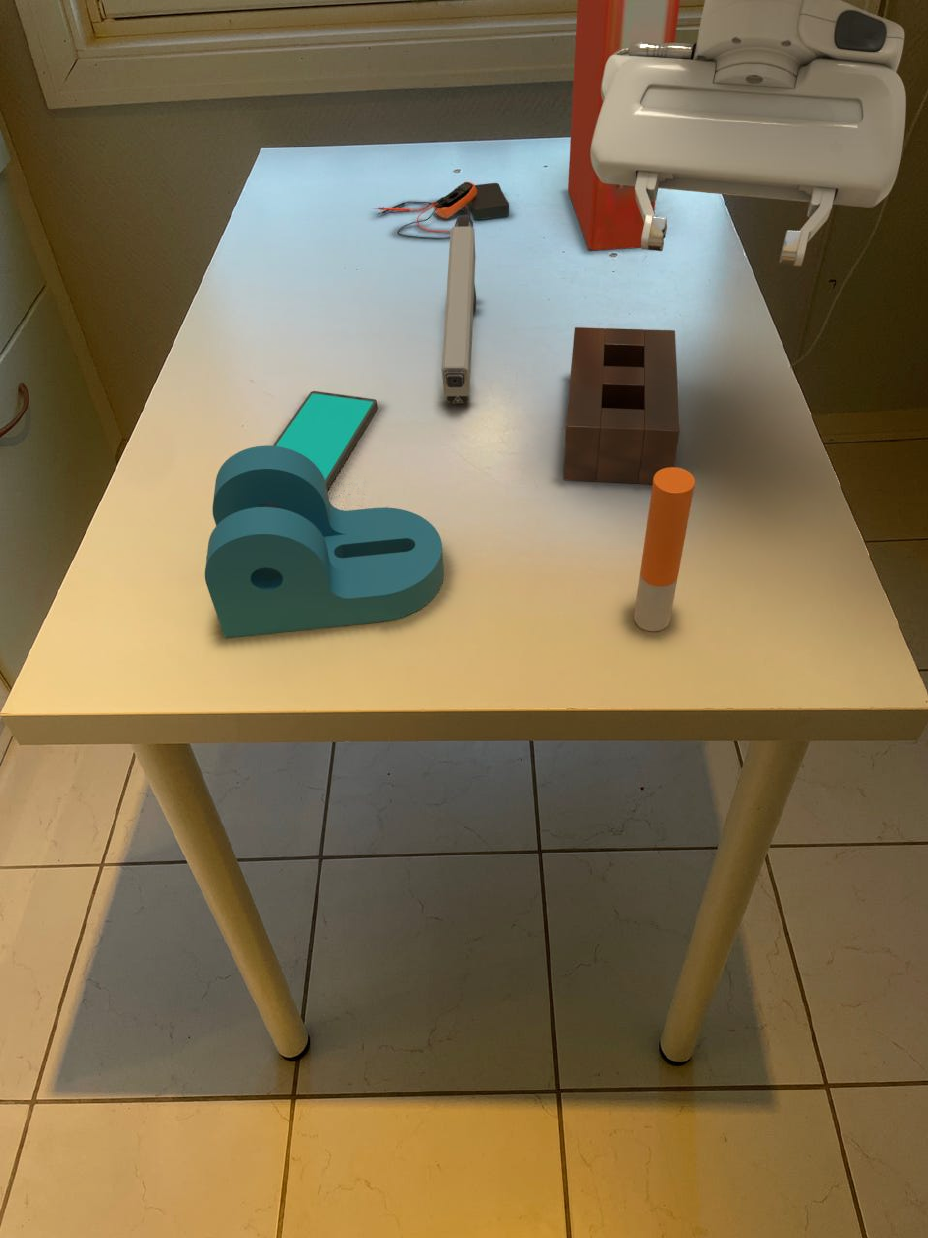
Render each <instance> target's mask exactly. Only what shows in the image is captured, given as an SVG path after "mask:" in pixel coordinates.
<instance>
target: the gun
mask: <svg viewBox="0 0 928 1238" xmlns="http://www.w3.org/2000/svg"><path fill="white" fill-rule="evenodd" d="M450 231H451V232H449V233H450V234H449V237H450V238H449V249H448V250H449V252H448V265H447V266H448V267H447V281H446V295H445V309H444V310H445V312H444V327H443V330H444V331H443V341H442V342H443V343H442V359H441V376H442V377H441V378H442V388H443V389H442V390H443V396H444V397H446V398H445V399H446V402H447V403H449V404H452V405H453V404H467V403H468V402H469V401H470V393H471V392H470V391H471V390H470V389H471V370H472V369H471V368H472V345H473V342H472V341H473V323H474V322H473V321H474V312H475V311H477V292H476V284H475V281H476V280H475V279H476V278H475V276H476V241H475V240H476V238H475V228H474V221H473V220H472V217H471V215H470V216H469V215H468V214H459V215H458V216H457V218H456V221H455V223H454V226H453V227H452V228H451V229H450Z"/></svg>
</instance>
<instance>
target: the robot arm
mask: <svg viewBox="0 0 928 1238" xmlns="http://www.w3.org/2000/svg"><path fill="white" fill-rule="evenodd" d="M904 43H905V30H904V28H903V26H902V25H900V24H898V23H897V22H895V21H892V20H889V19H888V18H885V17H883V16H879V15H877V14H874V13H871V12H869V11H866V10H864V9H862V8H859V7H857V6H855V5H853V4H850V3H848V2H846V1H844V0H704V3H703V8H702V13H701V18H700V23H699V28H698V33H697V38H696V42H695V43H684V42H675V43H665V44H664V43H662V44H656V43H650V42H647V41H635V42H631V43H630V47H625V48H622V49H620V50H618V51H616V52H615V53H614V54H613V55H612V56H610V57H609V59H608V61H607V63H606V65H605V68H604V73H603V78H602V84H601V96H602V99H603V101H604V102H603V105H602V108H601V111H600V114H599V117H598V120H597V124H596V127H595V131H594V135H593V139H592V144H591V162H592V166H593V169H594V171H595V172H596V174H597V176H598V177H599V179H600V180H601V181H602V182H603V183H608V184H619V185H630V186H635V194H636V201H637V204H638V207H639V210H640V213H641V215H642V218H643V221H644V227H643V232H642V237H641V247H640V248H641V250H646V251H657V252H663V250H664V246H665V240H664V239H665V238H666V236H667V230H668V224H667V223H668V219H667V217H661V216H656V214H655V210H654V211H653V208H652V205H651V203H650V202H655V201H657V197H658V194H659V193H658V192H659V189H662V190H674V191H683V192H685V191H686V192H695V193H706V194H716V195H728V196H737V197H738V196H739V197H749V198H760V199H771V200H780V201H792V202H801V203H809V204H808V208H807V214H806V215H807V218H809V219H807V221H806V222H805V223H804V225H802V227H801V228H800V229H799V230H790V229H789V230H788V229H787V230H786V232H785V236H784V239H783V243H782V249H781V253H780V259H779V265H787V266H794V267H802V265H803V262H804V258H805V254H806V250H807V244H808V242H810V241H811V239H812V238H813V237H814V236H815V234H817V233H818V232H819V230H820V229H821V227H823V226H824V224H825V223H826V222H827V221H828V219H829V217H830V214H831V211H832V208H833V205H836V206H845V207H855V208H868V209H870V208H874V207H876V206H877V205H878V204H880V203H881V202H882V201H883V200H884V199H885V198H886V197H888V195H889V194H890V192H891V191H892V190H893V187H894V185H895V183H896V180H897V177H898V173H899V169H900V163H901V159H902V151H903V147H904V146H903V145H904V136H905V127H906V112H907V111H906V108H907V106H906V105H907V100H906V99H907V96H906V89H905V85H904V82H903V81H902V78H901V77H900V75H899V74H898V73H897V72H898V69H899V65H900V62H901V59H902V54H903V49H904ZM624 54H629V56H625V55H624ZM655 203H656V202H655Z"/></svg>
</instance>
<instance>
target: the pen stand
mask: <svg viewBox="0 0 928 1238" xmlns="http://www.w3.org/2000/svg"><path fill="white" fill-rule="evenodd" d="M573 332H574V333H573V343H572V354H571V368H570V378H569V387H568V399H567V400H568V401H567V409H566V410H567V411H566V422H565V436H564V437H565V439H564V459H563V475H562V476H563V477H562V478H563V479H562V480H563V481H578V482H579V481H580V482H601V483H602V482H603V483H619V484H620V483H621V484H641V485H653V478H654V475H655V474H656V473H657V472H658V471H659V470H661V469H664V468H669V467H675V465H676V457H677V451H678V447H679V446H678V445H679V439H680V433H681V427H680V406H679V386H678V364H677V363H678V362H677V346H676V345H677V343H676V341H677V340H676V330H675V329H644V328H621V327H619V328H618V327H617V328H616V327H585V326H575V327H574V331H573Z"/></svg>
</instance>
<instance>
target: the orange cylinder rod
mask: <svg viewBox="0 0 928 1238" xmlns="http://www.w3.org/2000/svg"><path fill="white" fill-rule="evenodd" d="M695 487H696V480H695V476H694V475H693V474H692V473H691V472H690V471H688V470H686V469H684V468H680V467H675V466H674V467H669V468H664V469H661V470H659V471H658V472H657V473H656V474H655V475H654V478H653V484H651V493H650V498H649V499H650V500H649V506H648V513H647V521H646V528H645V535H644V541H643V549H642V556H641V564H640V570H639V578H638V585H637V591H636V597H635V598H636V600H635V606H634V614H633V620H634V622H635V624H636V626H637V627H638V628H640V629H642V630H643V631H647V632H659V631H663V630H664V629H666V628H668V626H669V624H670V622H671V617H672V616H671V615H672V610H673V604H674V600H675V594H676V589H677V584H678V577H679V573H680V568H681V562H682V557H683V556H682V555H683V551H684V546H685V540H686V534H687V529H688V524H689V518H690V513H691V507H692V501H693V496H694V492H695Z"/></svg>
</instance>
